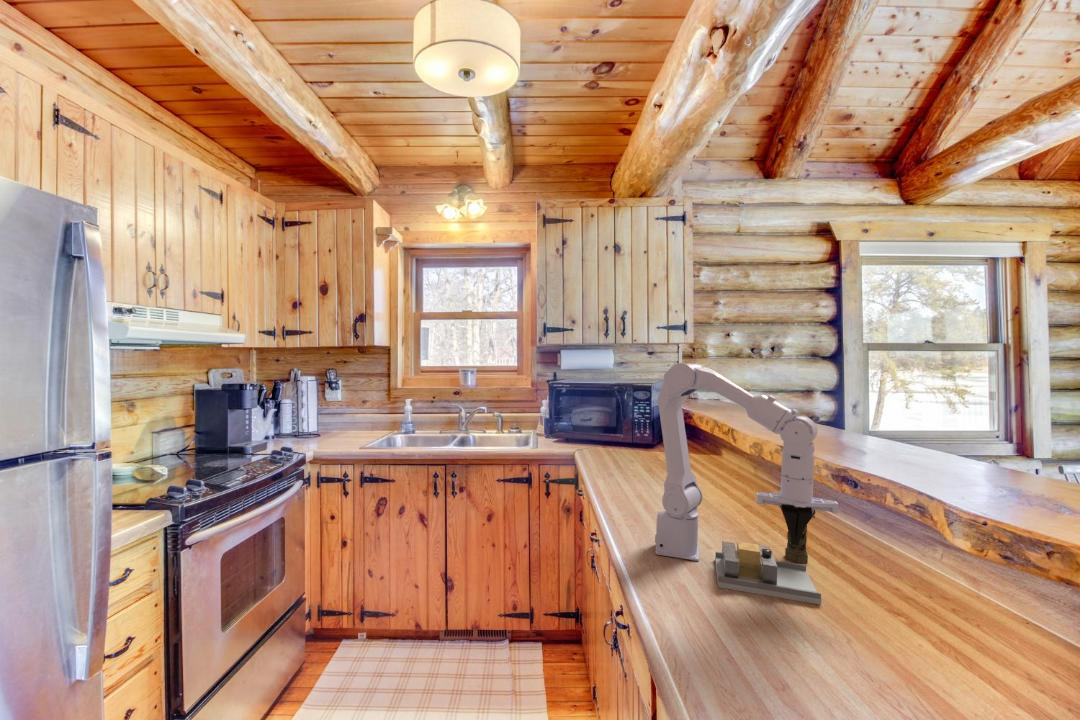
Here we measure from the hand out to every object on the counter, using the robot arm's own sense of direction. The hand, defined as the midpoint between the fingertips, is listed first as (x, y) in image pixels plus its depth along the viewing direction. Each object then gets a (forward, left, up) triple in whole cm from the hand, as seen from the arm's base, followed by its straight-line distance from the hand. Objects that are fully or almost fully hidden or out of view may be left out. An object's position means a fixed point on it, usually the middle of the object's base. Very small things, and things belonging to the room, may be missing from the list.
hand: (794, 543), depth 95 cm
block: (-8, 0, -8) cm, 11 cm away
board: (-5, 0, -9) cm, 10 cm away
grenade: (+4, +15, -9) cm, 18 cm away
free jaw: (-5, 0, -7) cm, 9 cm away
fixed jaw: (-12, 0, -9) cm, 15 cm away
